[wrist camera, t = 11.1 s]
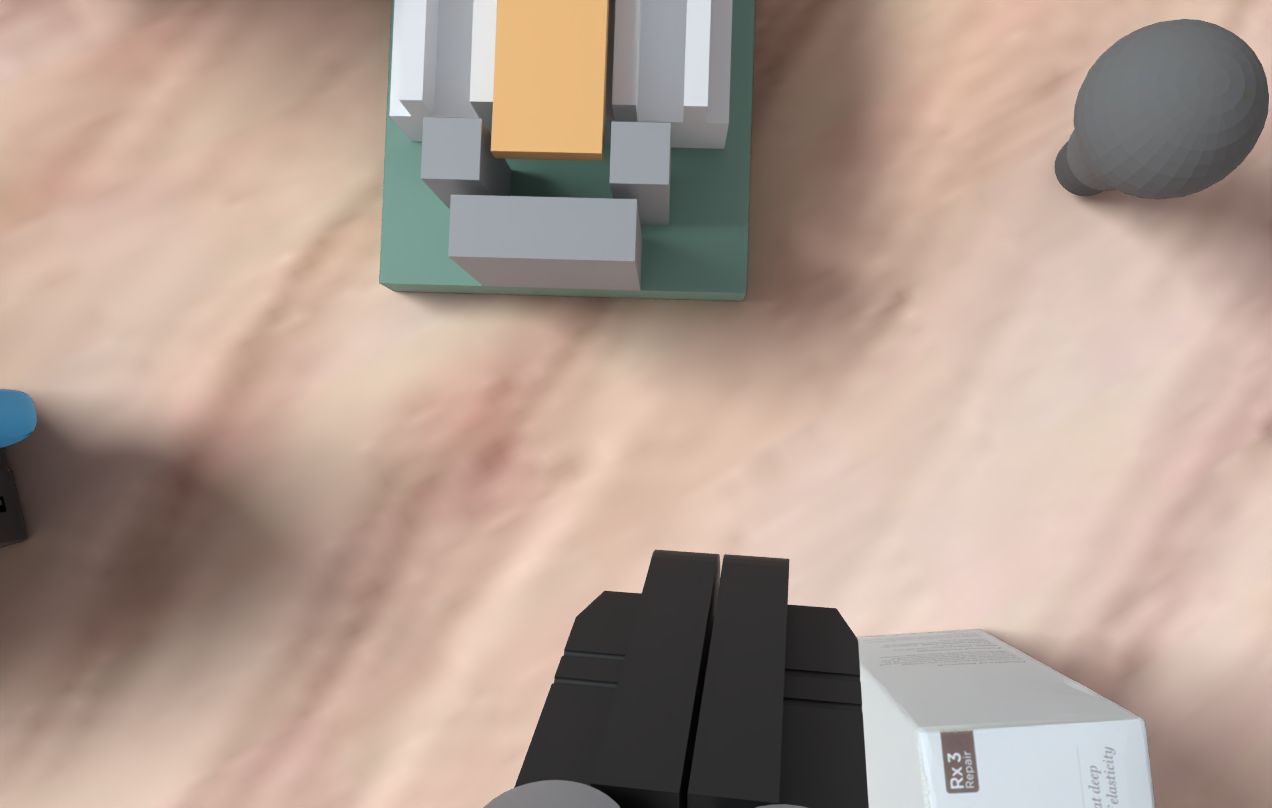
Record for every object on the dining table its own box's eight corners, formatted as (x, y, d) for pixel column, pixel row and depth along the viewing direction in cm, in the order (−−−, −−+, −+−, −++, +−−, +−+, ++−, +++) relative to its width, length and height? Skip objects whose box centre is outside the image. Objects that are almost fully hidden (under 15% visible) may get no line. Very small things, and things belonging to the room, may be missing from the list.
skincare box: (998, 833, 39) (1202, 1075, 24) (841, 843, 39) (946, 1088, 24) (978, 614, 39) (1167, 718, 24) (823, 625, 39) (916, 734, 24)
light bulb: (978, 193, 40) (1082, 108, 30) (1054, 76, 40) (1183, -48, 30) (1099, 268, 39) (1245, 208, 29) (1175, 150, 40) (1346, 51, 30)
